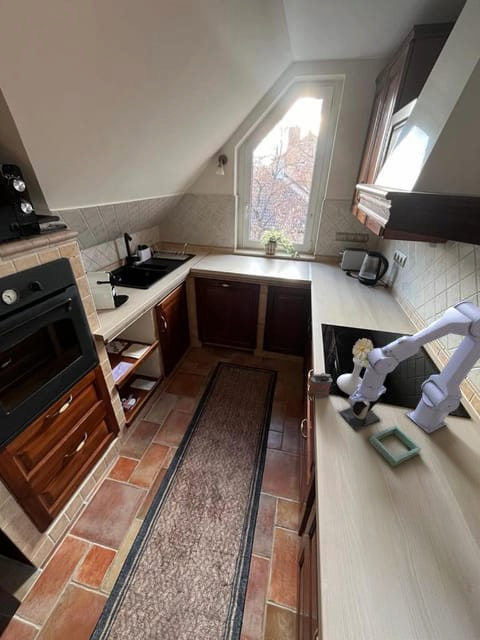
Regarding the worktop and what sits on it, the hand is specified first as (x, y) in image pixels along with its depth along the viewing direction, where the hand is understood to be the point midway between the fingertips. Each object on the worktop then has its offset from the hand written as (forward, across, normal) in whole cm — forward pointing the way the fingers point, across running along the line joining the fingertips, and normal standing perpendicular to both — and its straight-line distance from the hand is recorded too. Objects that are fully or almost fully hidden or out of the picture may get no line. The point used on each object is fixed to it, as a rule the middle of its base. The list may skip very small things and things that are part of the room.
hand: (360, 411), depth 88 cm
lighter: (+2, +7, -14) cm, 16 cm away
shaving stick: (+2, 0, 0) cm, 2 cm away
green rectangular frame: (+2, -1, +13) cm, 13 cm away
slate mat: (+2, 0, 0) cm, 2 cm away
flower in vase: (+2, -7, -11) cm, 13 cm away
